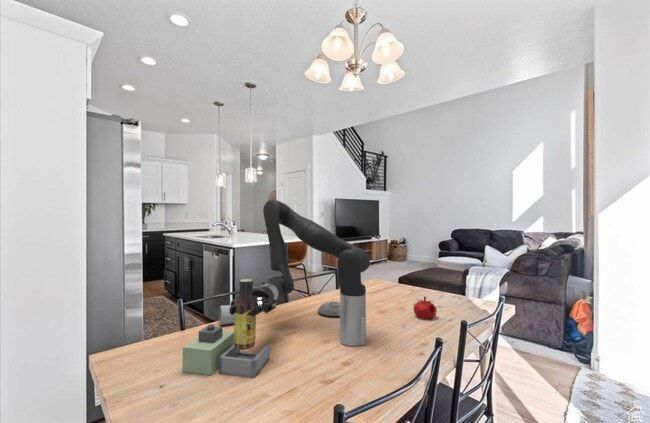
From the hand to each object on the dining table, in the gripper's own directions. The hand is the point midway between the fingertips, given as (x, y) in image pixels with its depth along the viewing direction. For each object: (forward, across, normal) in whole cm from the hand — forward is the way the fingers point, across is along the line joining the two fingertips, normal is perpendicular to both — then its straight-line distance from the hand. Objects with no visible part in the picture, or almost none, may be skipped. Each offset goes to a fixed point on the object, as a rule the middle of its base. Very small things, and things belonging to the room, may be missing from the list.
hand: (241, 312), depth 89 cm
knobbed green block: (-2, -5, +17) cm, 18 cm away
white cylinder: (-35, -23, +18) cm, 45 cm away
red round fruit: (-60, +59, +17) cm, 86 cm away
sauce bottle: (-2, 0, +11) cm, 11 cm away
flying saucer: (-57, +18, +18) cm, 62 cm away
